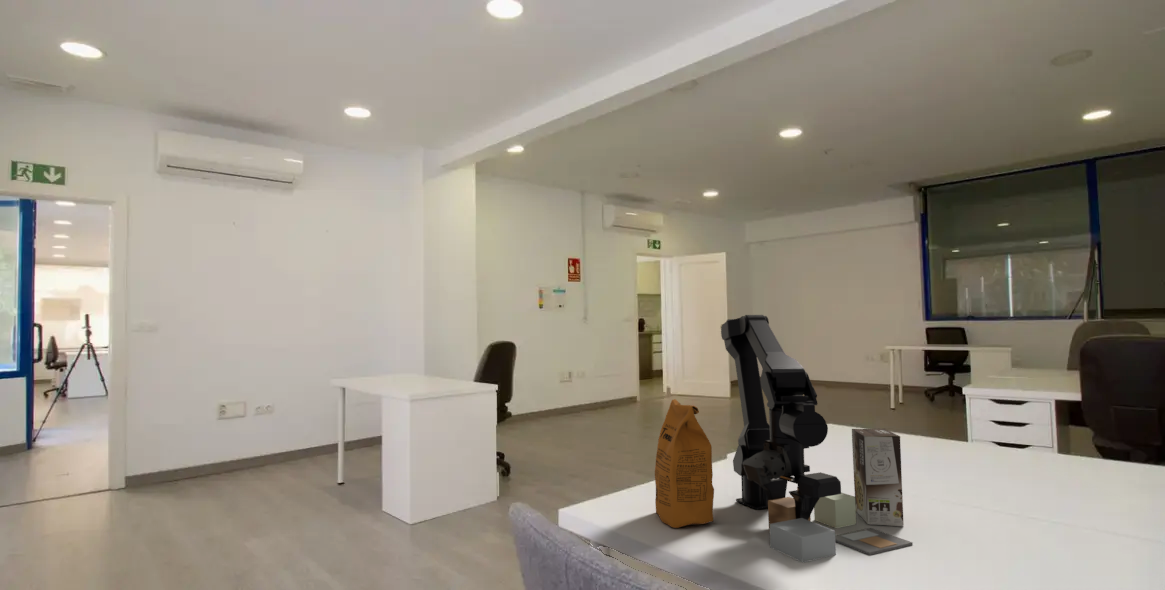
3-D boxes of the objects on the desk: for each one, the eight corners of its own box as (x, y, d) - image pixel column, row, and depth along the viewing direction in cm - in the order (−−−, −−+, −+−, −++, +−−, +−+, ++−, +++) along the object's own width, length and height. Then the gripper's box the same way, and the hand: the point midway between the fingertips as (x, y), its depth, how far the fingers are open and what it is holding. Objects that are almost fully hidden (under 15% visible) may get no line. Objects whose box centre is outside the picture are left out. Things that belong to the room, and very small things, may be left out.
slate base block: (770, 548, 95) (769, 523, 96) (802, 542, 98) (801, 517, 99) (802, 564, 89) (801, 537, 89) (836, 556, 92) (834, 530, 92)
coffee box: (905, 527, 104) (901, 436, 105) (866, 525, 106) (863, 435, 107) (889, 511, 113) (885, 427, 114) (854, 510, 115) (850, 427, 116)
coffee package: (697, 507, 117) (695, 397, 119) (720, 528, 105) (716, 405, 106) (649, 510, 116) (647, 398, 117) (666, 531, 104) (663, 406, 105)
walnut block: (768, 528, 104) (767, 500, 105) (790, 524, 106) (789, 496, 107) (789, 537, 100) (788, 507, 100) (811, 533, 102) (809, 504, 102)
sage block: (814, 520, 109) (813, 493, 109) (834, 516, 111) (833, 490, 111) (836, 528, 104) (835, 500, 105) (856, 524, 106) (855, 496, 107)
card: (829, 538, 99) (828, 535, 99) (870, 530, 103) (870, 527, 103) (869, 555, 92) (869, 551, 92) (912, 544, 96) (912, 541, 96)
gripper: (717, 431, 109) (719, 516, 108) (790, 449, 92) (794, 550, 91) (763, 426, 114) (766, 508, 113) (841, 443, 97) (845, 539, 96)
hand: (789, 524), depth 103 cm, fingers closed on walnut block, 5 cm apart
